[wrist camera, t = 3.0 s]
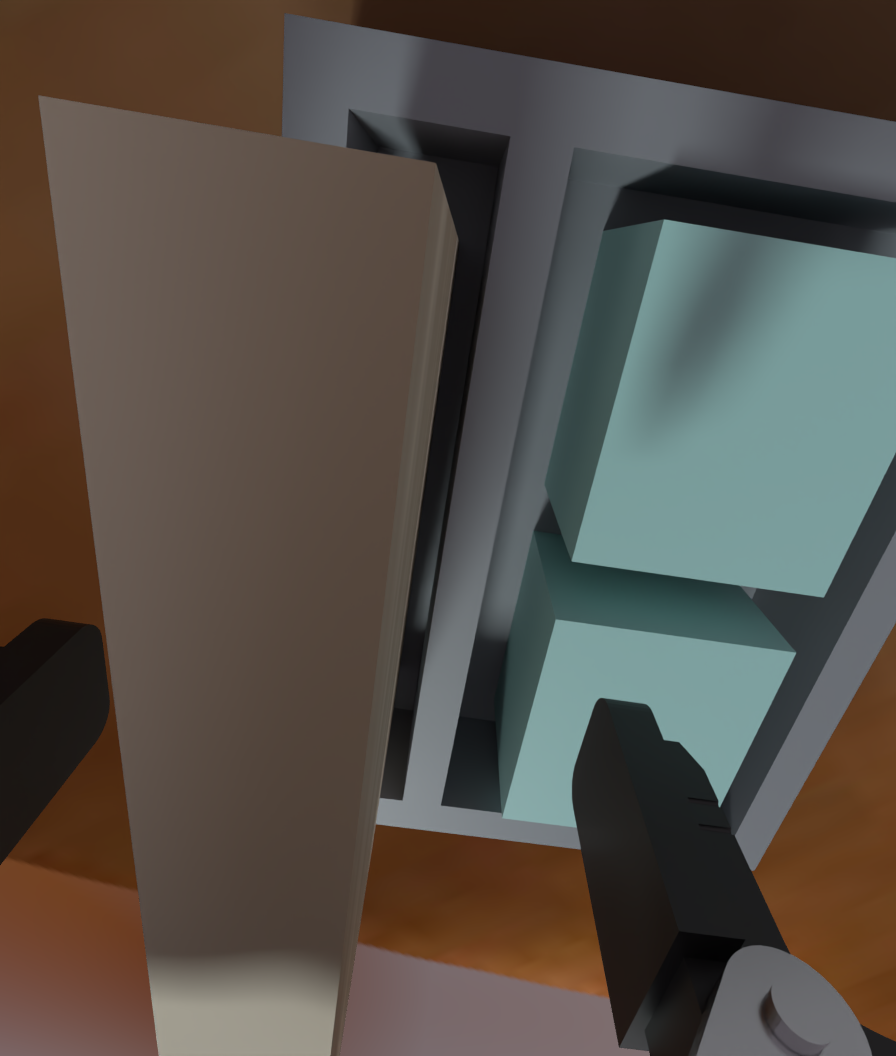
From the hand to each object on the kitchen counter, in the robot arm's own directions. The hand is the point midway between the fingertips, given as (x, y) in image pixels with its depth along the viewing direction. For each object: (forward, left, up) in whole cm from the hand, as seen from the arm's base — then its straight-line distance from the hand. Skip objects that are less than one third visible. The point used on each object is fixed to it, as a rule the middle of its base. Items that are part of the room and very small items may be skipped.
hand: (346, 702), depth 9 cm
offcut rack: (+5, 0, -11) cm, 12 cm away
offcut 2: (+7, -4, -10) cm, 13 cm away
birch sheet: (0, 0, -10) cm, 10 cm away
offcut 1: (+7, +4, -10) cm, 13 cm away
